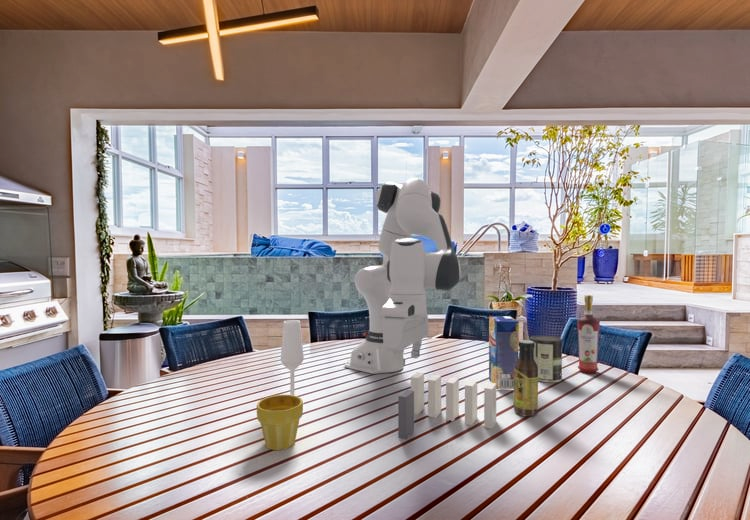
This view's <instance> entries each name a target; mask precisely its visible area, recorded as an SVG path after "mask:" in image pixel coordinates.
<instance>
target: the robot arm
mask: <svg viewBox="0 0 750 520" xmlns="http://www.w3.org/2000/svg"><path fill="white" fill-rule="evenodd" d="M375 200H376V201H375V202H376V207H377V209H378V210H379V211H381V212H383V213H385V214H386V217H385V219H384V222H383V225H382V228H381V233H380V236H379V240H378V244H377V248H378V251H379V252H380V254H381V255H382V257H383V258H382V260H383V261H382V264H381V265H370V266H367V267H363V268H360V269H359V270H358V271H357V272H356V273H355V276H354V286H355V289H356V290H357V292H359V294H361V295H362V297H363V298H364V299H365V301H366V305H367V308H368V314H369V316H368V317H369V330H367V331H365V332H364V333H363V337H365V339H364V340H363V341H362V342H361V343H359V344H358V345H357V346H356V347H354V348H353V349H352V351H351V354H350V359H349V360H347V361H346V362H344V368H346V369H350V370H354V371H355V370H356V371H359V372H364V373H367V374H371V375H375V374H376V375H377V374H384V373H395V372H399V371H400V370H403V368H404V367H405V366H406V359H405V358H404V353H405V349H407V348H408V347H410V346H412V348H411V351H410V357H411V358H412V359H418V358H420V356H421V355H420V352H421V351H420V350H421V348H422V343H423V342H422V340H423V339H425V338H427V337H428V336H429V332H430V331H429V328H430V327H429V315H428V311H427V291H426V290H438V291H447V292H448V291H450V290H451V289H453V288H454V287H456V286H457V285H458V284H459V282H460V279H461V273H462V272H461V270H462V269H461V264H460V260H459V259H458V256H457V254H456V252H455V251H456V250H455V249H454V246H453V242H452V238H451V236H450V232H449V229H448V226H447V222H446V220H445V218H444V216H443V215H442V214H441V213H440V211H441V206H442V204H441V202H442V201H441V197H440V195H439V194H437V193H436V192H434V191H431V190H430V187H429V185H428V183H427V182H426V181H424V180H423V179H420V178H413V177H412V178H409V179H407V180H405V182H403V184H401V183H395V182H393V181H386V182H384V183H383V184H381V186H380V187H379V188H378V190H377V192H376V195H375ZM413 235H415V236H420V237H425V238H427V239H431V240H432V241H433V242H434V243H435V246H436V250H437V251H425V247H424V242H423V241H422V240H421V239H419V238H413V237H412V236H413Z"/></svg>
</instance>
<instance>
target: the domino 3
mask: <svg viewBox="0 0 750 520" xmlns="http://www.w3.org/2000/svg"><path fill="white" fill-rule="evenodd" d="M427 402H428V403H427V417H428V416H429V417H428V418H433V417H434V418H433V419H435V417H436V418H437V416H439V414H440V413H441V412H442V375H438V374H433V375H432V376H431V377H429V378H428V379H427Z"/></svg>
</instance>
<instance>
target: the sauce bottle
mask: <svg viewBox="0 0 750 520" xmlns="http://www.w3.org/2000/svg"><path fill="white" fill-rule="evenodd" d="M534 347H535V346H534V342H533V341H531V339H530V340H529V339H520V340H519V349H518V360H517V362H516V363H515V367H514V390H513V405H514V406H513V407H514V408H513V409H514V412H515V413H517V414H518V415H520V416H522V417H523V416H525V417H535V416H536V415H537V413H538V405H539V404H538V403H539V402H538V401H539V381H538V366H537V364H536V362H535V361H534V359H533V358H534Z"/></svg>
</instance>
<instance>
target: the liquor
mask: <svg viewBox="0 0 750 520" xmlns="http://www.w3.org/2000/svg"><path fill="white" fill-rule="evenodd" d="M593 299H594V296H593V295H589V294H588V295H587V294H586V295H584V313H583V316H582V317H579V318H578V319H577V340H578V341H577V343H578V366H577V368H578V369H579V371H580V372H581V373H584V374H590V375H591V374H592V373H593V374H595V373H596V372H598V371H599V367H598V359H599V358H598V357H599V342H600V341H599V339H600V325H601V323H600V320H599V319H597V318H596V317H594V310H593Z"/></svg>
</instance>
